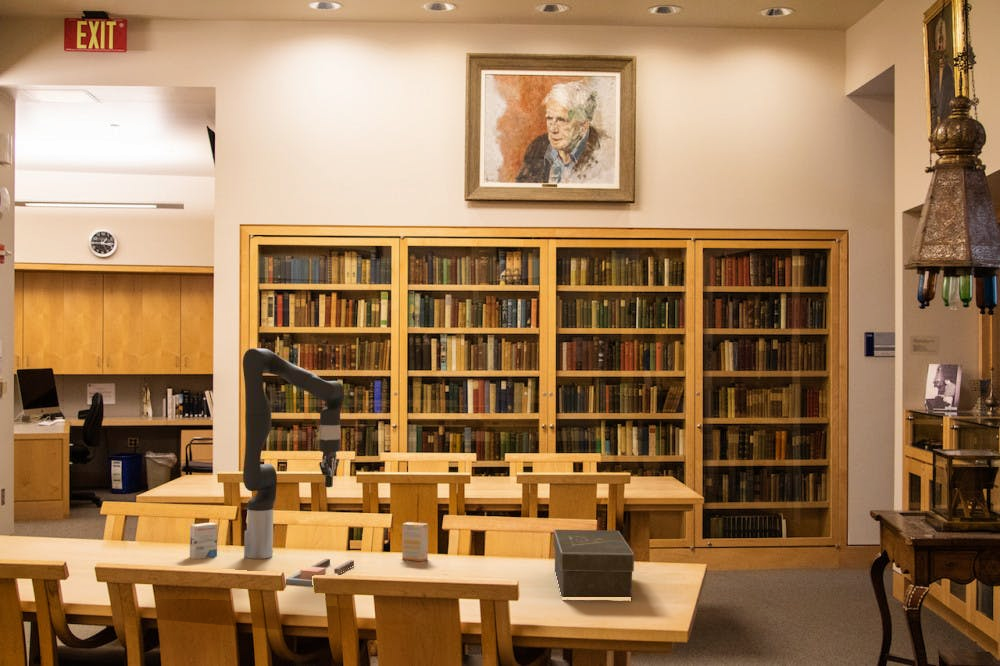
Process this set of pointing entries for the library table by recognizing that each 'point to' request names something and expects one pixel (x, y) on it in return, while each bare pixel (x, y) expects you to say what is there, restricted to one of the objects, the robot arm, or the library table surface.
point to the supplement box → (415, 541)
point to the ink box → (203, 540)
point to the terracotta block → (311, 572)
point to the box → (593, 563)
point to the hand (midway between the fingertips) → (328, 486)
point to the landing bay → (299, 580)
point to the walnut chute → (338, 569)
